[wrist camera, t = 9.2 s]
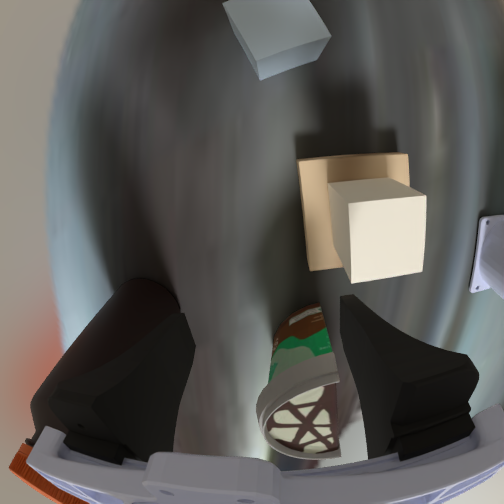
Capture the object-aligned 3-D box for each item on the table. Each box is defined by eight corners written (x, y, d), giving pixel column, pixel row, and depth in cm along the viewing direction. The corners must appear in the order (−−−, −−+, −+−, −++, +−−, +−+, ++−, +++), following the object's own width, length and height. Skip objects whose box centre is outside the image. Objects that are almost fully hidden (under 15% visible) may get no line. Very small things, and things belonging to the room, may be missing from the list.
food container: (246, 300, 24) (232, 390, 15) (317, 287, 24) (339, 375, 14) (273, 390, 29) (272, 468, 20) (329, 381, 28) (341, 459, 19)
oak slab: (394, 151, 19) (407, 154, 17) (396, 246, 22) (407, 258, 20) (295, 158, 20) (298, 161, 18) (306, 257, 23) (310, 271, 21)
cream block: (388, 177, 18) (426, 195, 13) (390, 237, 19) (422, 271, 14) (327, 183, 18) (348, 203, 13) (333, 245, 20) (351, 283, 15)
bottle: (126, 332, 27) (36, 491, 9) (111, 274, 24) (-25, 439, 6) (186, 339, 27) (118, 532, 8) (177, 278, 24) (59, 499, 6)
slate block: (289, 13, 15) (294, -21, 10) (316, 60, 17) (331, 36, 12) (234, 33, 16) (222, 3, 11) (260, 80, 18) (256, 61, 12)
